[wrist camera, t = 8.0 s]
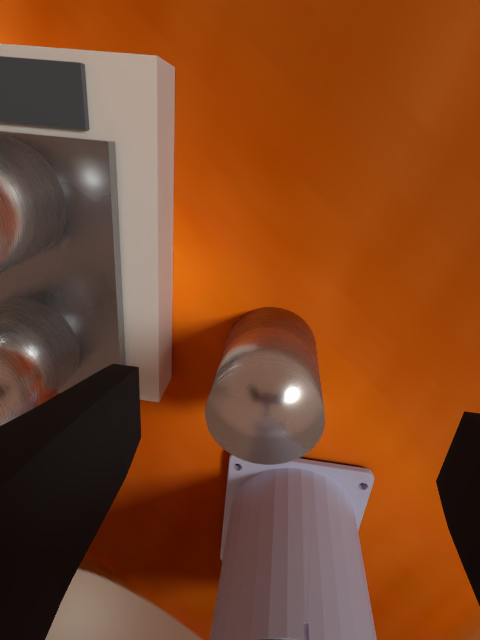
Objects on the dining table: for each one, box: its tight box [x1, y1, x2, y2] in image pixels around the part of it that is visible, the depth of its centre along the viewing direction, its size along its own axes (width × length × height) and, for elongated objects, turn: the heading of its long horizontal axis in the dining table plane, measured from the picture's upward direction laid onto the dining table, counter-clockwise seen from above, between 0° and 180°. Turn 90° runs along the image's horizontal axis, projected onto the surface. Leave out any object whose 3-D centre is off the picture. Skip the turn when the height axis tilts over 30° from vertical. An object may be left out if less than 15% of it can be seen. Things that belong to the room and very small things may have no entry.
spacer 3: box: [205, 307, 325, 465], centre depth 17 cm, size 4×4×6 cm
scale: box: [0, 44, 175, 402], centre depth 17 cm, size 14×11×2 cm
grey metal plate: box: [0, 131, 126, 393], centre depth 16 cm, size 11×8×1 cm
